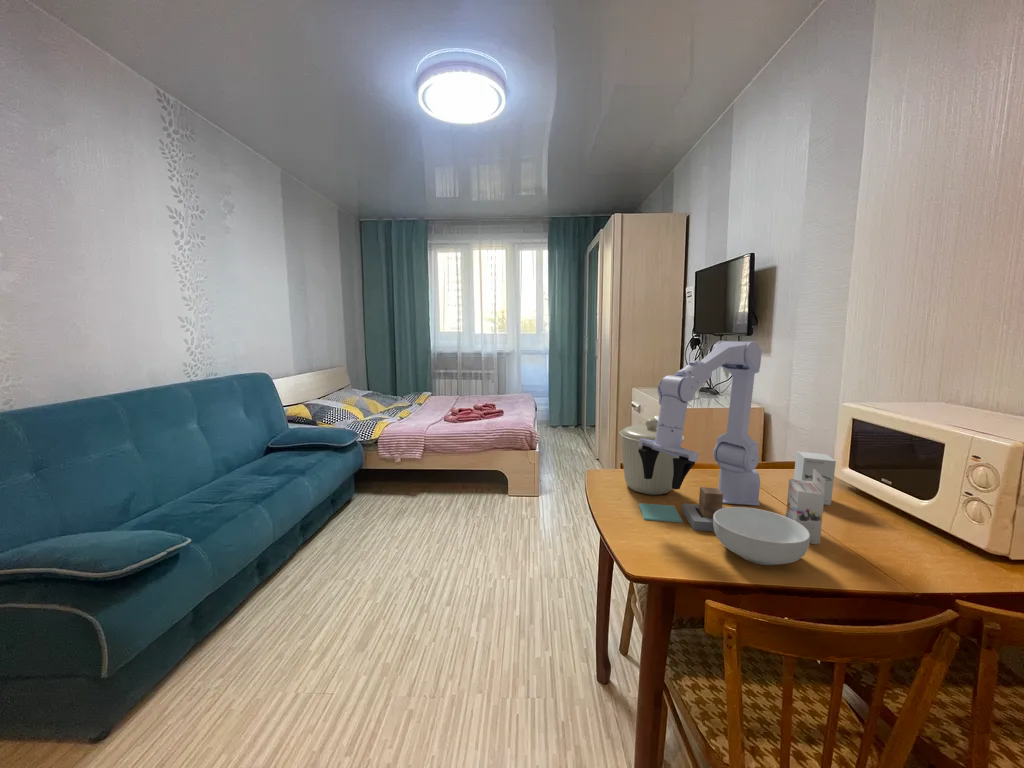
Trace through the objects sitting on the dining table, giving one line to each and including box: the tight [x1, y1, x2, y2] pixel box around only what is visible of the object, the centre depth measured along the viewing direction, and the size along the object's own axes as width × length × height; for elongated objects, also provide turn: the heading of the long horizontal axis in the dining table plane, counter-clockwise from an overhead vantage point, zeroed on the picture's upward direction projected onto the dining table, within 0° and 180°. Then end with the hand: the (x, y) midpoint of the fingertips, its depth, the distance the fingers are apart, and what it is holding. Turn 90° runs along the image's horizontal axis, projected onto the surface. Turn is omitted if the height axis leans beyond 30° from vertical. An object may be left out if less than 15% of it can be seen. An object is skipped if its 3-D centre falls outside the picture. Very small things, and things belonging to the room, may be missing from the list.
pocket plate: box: [681, 503, 726, 533], centre depth 98 cm, size 10×10×2 cm
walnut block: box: [698, 486, 724, 518], centre depth 97 cm, size 4×4×8 cm
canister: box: [618, 418, 686, 496], centre depth 118 cm, size 18×18×21 cm
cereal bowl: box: [713, 506, 810, 566], centre depth 83 cm, size 17×17×7 cm
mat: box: [638, 502, 684, 524], centre depth 103 cm, size 9×9×1 cm
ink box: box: [785, 469, 826, 545], centre depth 91 cm, size 8×5×15 cm, turn 158°
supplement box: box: [793, 450, 837, 506], centre depth 112 cm, size 7×7×13 cm
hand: (661, 483), depth 94 cm, fingers open, 7 cm apart
